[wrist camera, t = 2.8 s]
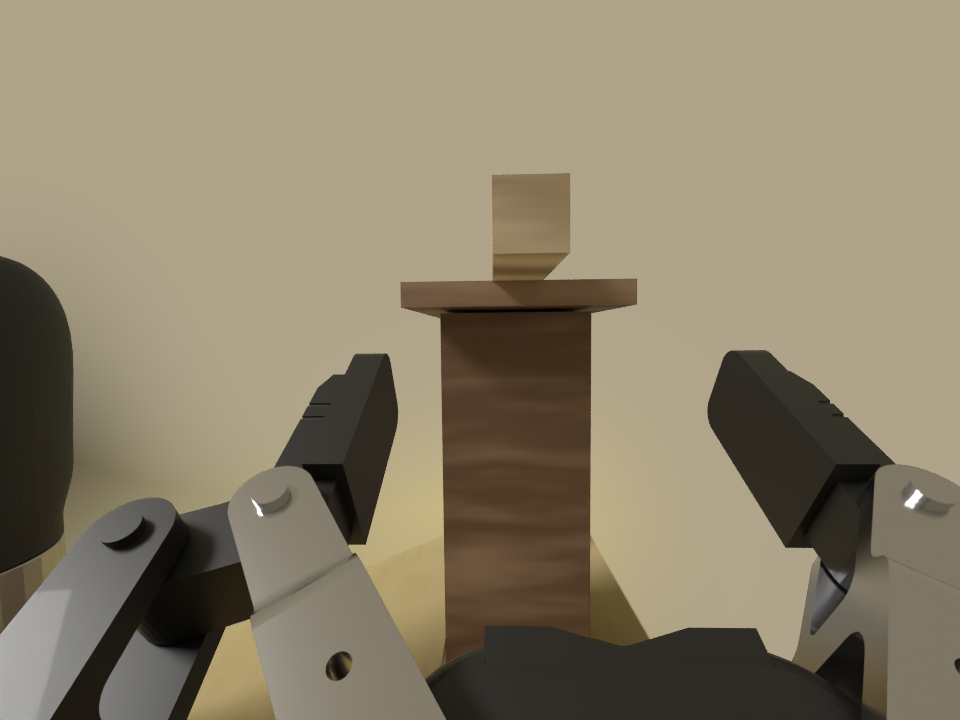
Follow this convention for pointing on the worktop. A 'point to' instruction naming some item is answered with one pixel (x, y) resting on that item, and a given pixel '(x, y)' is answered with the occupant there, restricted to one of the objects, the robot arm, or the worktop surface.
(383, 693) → the robot arm
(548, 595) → the stand
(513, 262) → the bar
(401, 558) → the worktop surface
